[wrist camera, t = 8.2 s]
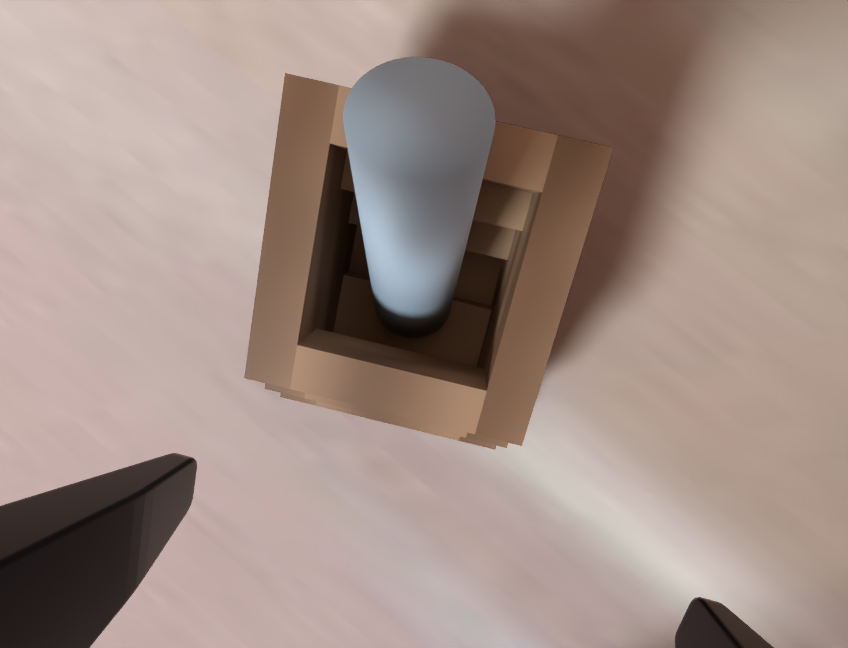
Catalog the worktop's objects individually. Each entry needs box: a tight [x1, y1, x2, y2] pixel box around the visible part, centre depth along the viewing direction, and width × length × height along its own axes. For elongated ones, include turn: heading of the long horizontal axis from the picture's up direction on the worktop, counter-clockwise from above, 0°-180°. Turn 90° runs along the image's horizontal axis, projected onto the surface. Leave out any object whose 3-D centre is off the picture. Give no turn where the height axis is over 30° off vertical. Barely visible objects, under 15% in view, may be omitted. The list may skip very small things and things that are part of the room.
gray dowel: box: [343, 57, 496, 338], centre depth 14 cm, size 3×3×10 cm
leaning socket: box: [244, 73, 613, 449], centre depth 17 cm, size 9×11×6 cm
